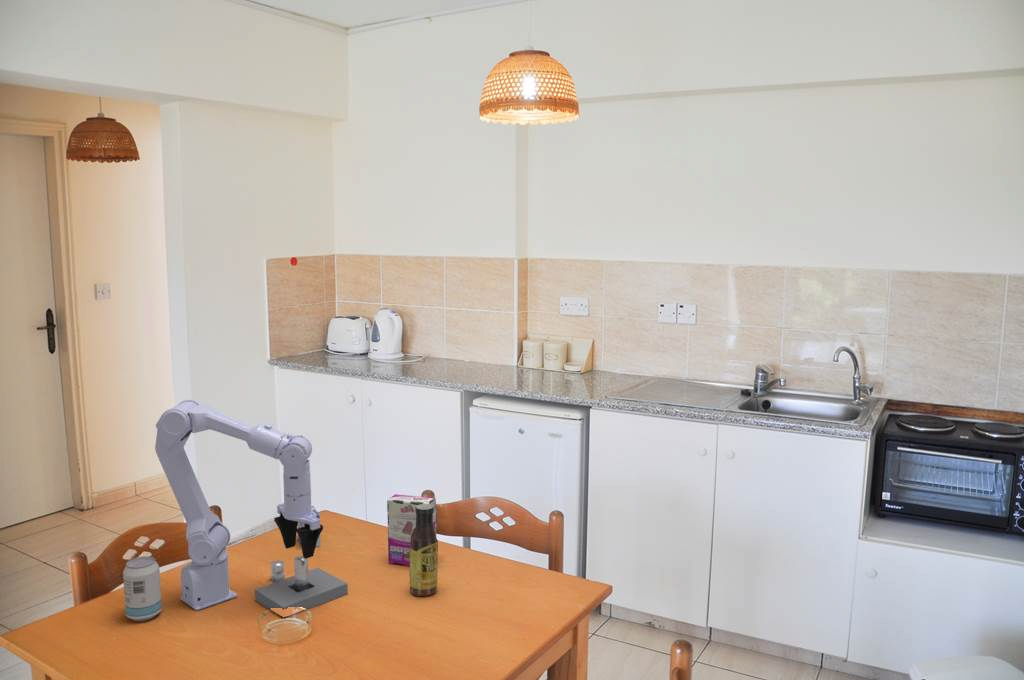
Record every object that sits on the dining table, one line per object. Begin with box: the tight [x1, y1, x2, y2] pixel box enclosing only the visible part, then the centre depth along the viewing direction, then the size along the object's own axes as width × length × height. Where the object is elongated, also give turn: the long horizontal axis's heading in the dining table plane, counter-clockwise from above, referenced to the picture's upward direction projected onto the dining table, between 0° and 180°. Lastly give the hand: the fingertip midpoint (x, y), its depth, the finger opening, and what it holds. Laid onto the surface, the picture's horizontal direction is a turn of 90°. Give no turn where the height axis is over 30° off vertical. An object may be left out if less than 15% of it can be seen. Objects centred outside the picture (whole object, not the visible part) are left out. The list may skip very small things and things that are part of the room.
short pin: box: [270, 559, 286, 583], centre depth 187 cm, size 3×3×4 cm
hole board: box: [254, 567, 349, 610], centre depth 178 cm, size 16×12×2 cm
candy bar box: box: [386, 493, 437, 567], centre depth 195 cm, size 11×5×16 cm, turn 73°
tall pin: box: [293, 555, 310, 593], centre depth 178 cm, size 3×3×9 cm
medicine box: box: [297, 505, 321, 548], centre depth 208 cm, size 8×4×9 cm, turn 25°
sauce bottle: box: [409, 504, 439, 597], centre depth 180 cm, size 7×6×20 cm
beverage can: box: [122, 555, 163, 622], centre depth 168 cm, size 7×7×12 cm
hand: (299, 552), depth 177 cm, fingers open, 7 cm apart
